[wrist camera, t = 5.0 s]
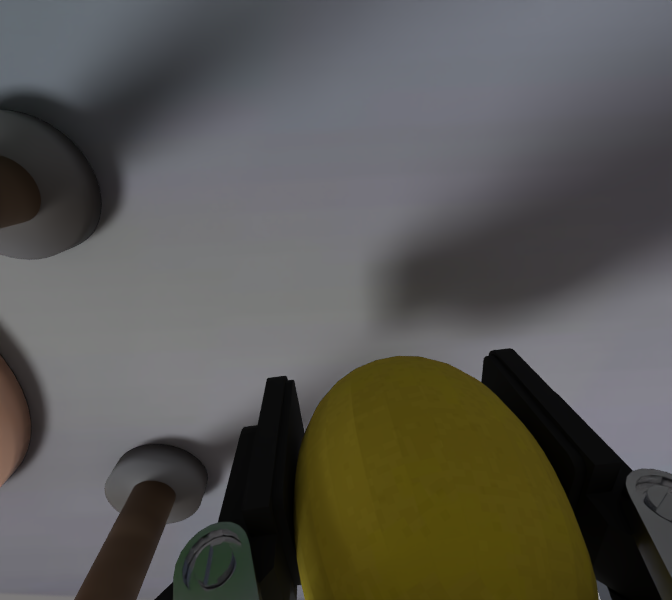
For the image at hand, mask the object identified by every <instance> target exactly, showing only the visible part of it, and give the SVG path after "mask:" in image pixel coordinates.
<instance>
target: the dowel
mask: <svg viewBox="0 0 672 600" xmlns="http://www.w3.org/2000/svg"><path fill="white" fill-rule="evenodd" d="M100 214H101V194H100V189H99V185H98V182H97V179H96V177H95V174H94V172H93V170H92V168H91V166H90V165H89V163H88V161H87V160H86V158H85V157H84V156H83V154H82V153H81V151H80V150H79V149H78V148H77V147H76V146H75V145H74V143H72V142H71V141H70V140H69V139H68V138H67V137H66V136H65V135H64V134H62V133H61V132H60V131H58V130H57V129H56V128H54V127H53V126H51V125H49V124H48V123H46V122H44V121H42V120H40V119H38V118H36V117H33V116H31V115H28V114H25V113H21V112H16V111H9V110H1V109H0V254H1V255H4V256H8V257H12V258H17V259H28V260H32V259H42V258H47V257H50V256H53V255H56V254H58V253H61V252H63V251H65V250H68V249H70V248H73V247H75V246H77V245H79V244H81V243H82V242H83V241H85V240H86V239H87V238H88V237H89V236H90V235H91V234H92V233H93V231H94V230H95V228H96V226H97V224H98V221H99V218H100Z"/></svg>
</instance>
